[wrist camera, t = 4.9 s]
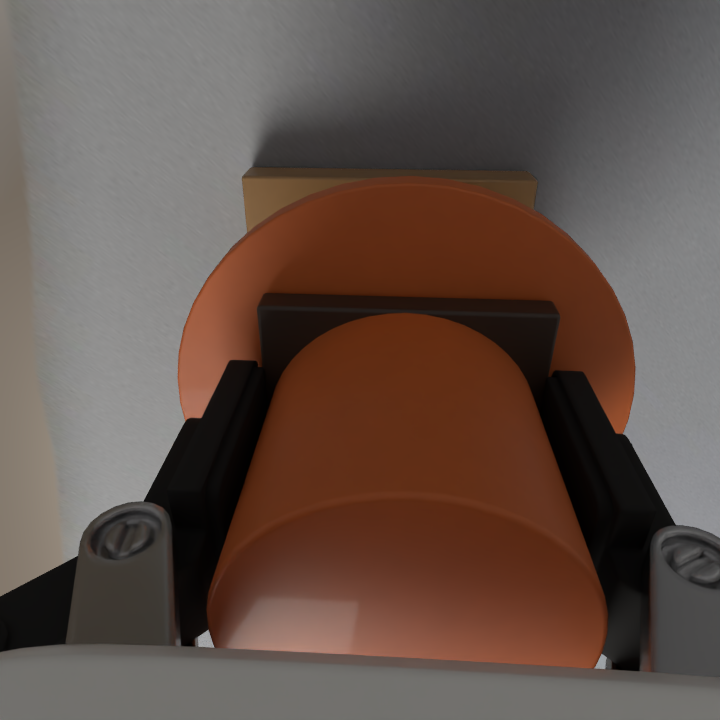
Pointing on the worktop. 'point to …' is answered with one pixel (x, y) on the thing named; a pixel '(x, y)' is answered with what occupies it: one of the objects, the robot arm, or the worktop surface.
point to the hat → (408, 426)
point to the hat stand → (288, 185)
